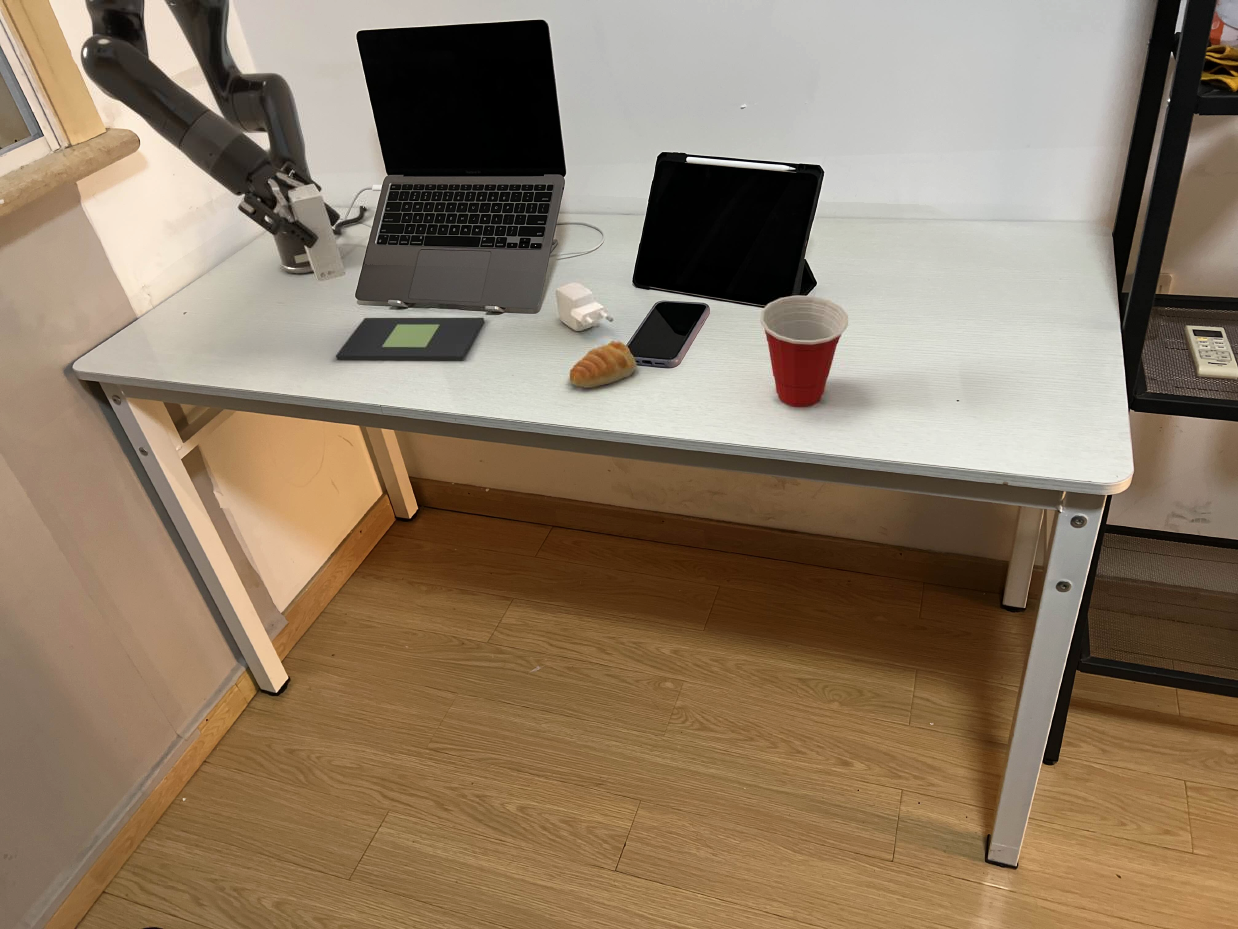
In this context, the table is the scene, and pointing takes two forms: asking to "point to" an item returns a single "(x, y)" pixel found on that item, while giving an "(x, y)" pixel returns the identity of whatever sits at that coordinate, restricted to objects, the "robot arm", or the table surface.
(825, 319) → the plastic cup
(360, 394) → the table surface
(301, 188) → the cosmetic box
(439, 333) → the mat
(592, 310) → the power adapter
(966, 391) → the table surface
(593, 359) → the pastry
